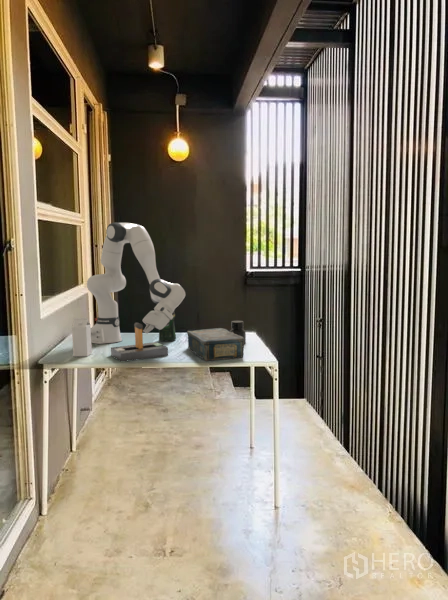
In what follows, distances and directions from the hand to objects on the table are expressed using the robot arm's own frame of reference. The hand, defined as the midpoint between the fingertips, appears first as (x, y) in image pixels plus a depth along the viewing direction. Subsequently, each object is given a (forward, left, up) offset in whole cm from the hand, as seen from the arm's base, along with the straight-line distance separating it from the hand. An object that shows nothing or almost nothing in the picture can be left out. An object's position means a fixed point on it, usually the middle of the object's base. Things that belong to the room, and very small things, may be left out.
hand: (145, 332), depth 238 cm
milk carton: (-30, -12, -12) cm, 34 cm away
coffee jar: (-8, +35, -12) cm, 38 cm away
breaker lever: (-2, -3, -7) cm, 8 cm away
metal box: (+31, +16, -12) cm, 37 cm away
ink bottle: (+33, +42, -12) cm, 55 cm away
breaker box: (-2, -3, -11) cm, 12 cm away
